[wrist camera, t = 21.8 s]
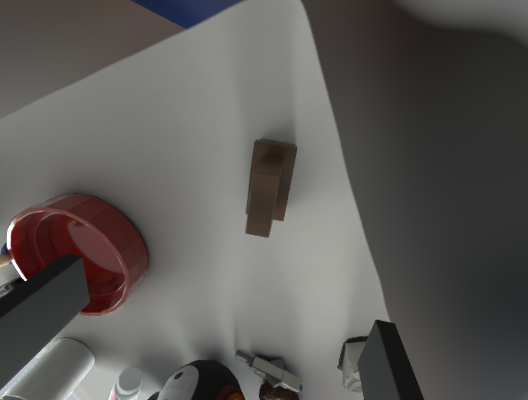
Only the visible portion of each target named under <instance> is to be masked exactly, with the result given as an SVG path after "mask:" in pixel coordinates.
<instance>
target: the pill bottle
mask: <svg viewBox="0 0 528 400" xmlns="http://www.w3.org/2000/svg"><path fill="white" fill-rule="evenodd" d="M142 378H143V375H142V372H141V371H140V370H139V369H138V368H135V367H130V368H127V369H126V370H124V371H123V372H122V373H121V375H120V376H119V377H118V379H117V380H116V382H115V384H114V386H113V389H112V392H111V395H110V398H109V400H136V399H137V396H138V394H139V392H140V390H141V386H142Z"/></svg>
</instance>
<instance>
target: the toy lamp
mask: <svg viewBox="0 0 528 400" xmlns="http://www.w3.org/2000/svg"><path fill="white" fill-rule="evenodd" d="M8 263H10V264H13V263H12V260H11V257H10V254H9V251H8V248H7V242H6V243H5V244H4V245H3V247H2V248H1V255H0V267H3V266H5V265H7V264H8Z"/></svg>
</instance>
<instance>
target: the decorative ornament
mask: <svg viewBox="0 0 528 400" xmlns="http://www.w3.org/2000/svg"><path fill="white" fill-rule="evenodd" d="M367 339H368V337H356V338H354V337H353V338H351V339H348V340H347V341H346V342H345V343H344V345H343V347H342V352H341V354H340V355H341V356H340V360H339V365H338V367H337V368H338V369H340V370H342V371H343V387H344V388H346V389H348V390H350V391H353V392H363V391H362V386H361V381H360V376H359V370H358V365H357V362H358V359H359V357H360V355H361V353H362V350H363V348H364V346H365V343H366V341H367Z"/></svg>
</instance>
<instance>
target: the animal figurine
mask: <svg viewBox="0 0 528 400" xmlns="http://www.w3.org/2000/svg"><path fill="white" fill-rule="evenodd" d="M235 359H237V360H240V361H242V362H245V363H246V364H247V365H248V366H250V368H249V369H250V370H252V371H254V373H255V374H257V375H259V376H261V377H262V378H264V379H266V380H268V382H269V383H270V384H271V386H272V387H273V388H275V387H277V386H279V385H280V386H281V387H283V388H285V389H287V388H288V389H290V390H292V391H294V392H299V391H300V392H302V388H303V386H302V385H301V384H300V383H301V380H299V379H297V378H295V377H294V376H293V375H292V374H290V373H289V372H287V371H285V368H284V363H283V359H282V358H278V359H274V360H270V362H269V361H267V360H265V359H263V358H259V357H257V356H255V357H254V358H253V357H251V356H249V355H247V354H245V353H244V352H242V351H240V350H238V351H237V353H236V358H235Z"/></svg>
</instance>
